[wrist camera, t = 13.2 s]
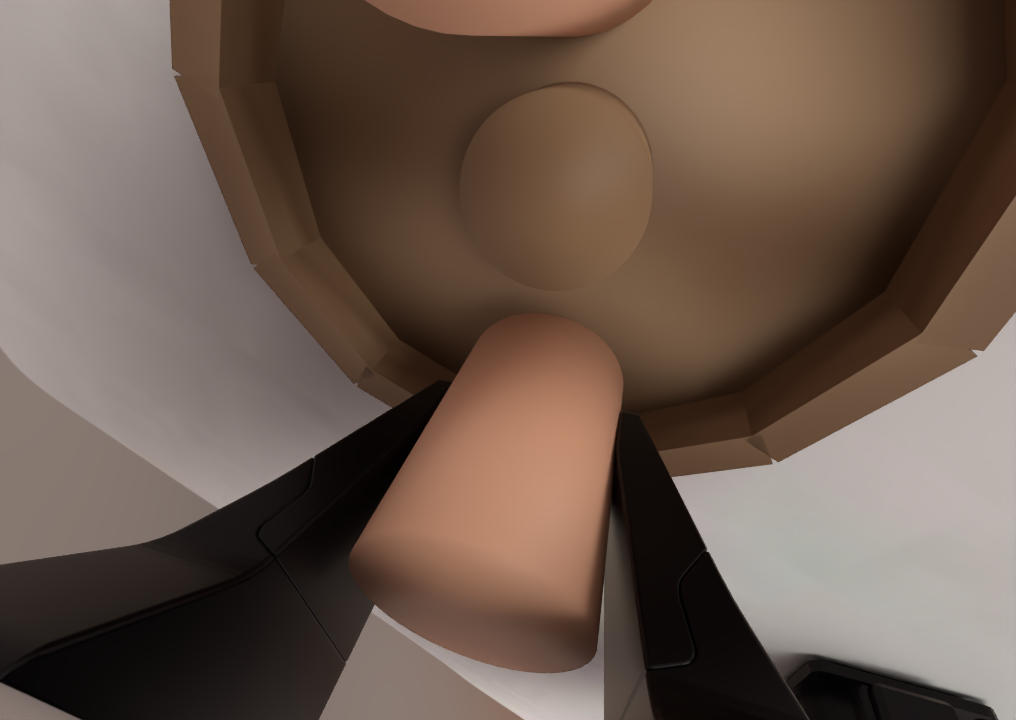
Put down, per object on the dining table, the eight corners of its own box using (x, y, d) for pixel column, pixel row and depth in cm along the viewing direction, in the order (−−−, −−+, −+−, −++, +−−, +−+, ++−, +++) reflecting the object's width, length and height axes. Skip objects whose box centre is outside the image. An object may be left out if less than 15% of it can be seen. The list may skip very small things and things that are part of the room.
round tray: (811, 466, 12) (836, 533, 11) (352, 381, 16) (315, 422, 14) (1659, -866, 3) (2822, -1912, 1) (118, -367, 7) (-64, -504, 5)
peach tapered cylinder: (612, 447, 11) (584, 695, 7) (475, 421, 12) (377, 627, 8) (635, 324, 9) (614, 584, 5) (465, 303, 10) (317, 505, 6)
